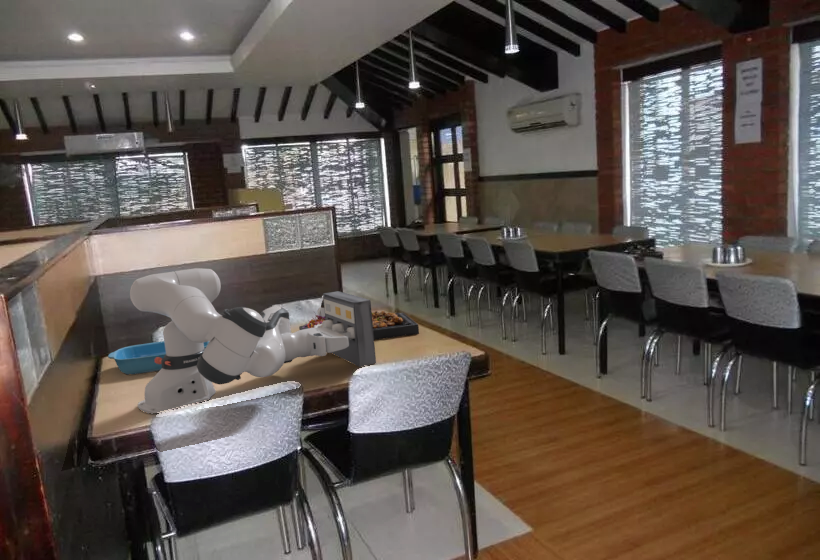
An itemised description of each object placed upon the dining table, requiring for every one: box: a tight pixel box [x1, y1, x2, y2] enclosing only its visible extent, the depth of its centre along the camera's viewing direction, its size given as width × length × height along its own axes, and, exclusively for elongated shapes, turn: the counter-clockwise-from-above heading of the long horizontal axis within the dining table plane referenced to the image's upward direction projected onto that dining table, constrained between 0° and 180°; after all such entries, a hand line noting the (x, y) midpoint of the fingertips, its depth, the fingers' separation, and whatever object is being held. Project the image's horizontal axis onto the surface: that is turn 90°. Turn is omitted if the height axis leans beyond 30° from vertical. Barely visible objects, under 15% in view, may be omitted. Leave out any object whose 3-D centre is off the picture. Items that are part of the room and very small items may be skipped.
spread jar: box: [316, 295, 325, 320], centre depth 285 cm, size 12×11×12 cm
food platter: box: [298, 310, 420, 341], centre depth 254 cm, size 45×25×10 cm, turn 104°
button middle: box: [332, 323, 344, 331], centre depth 218 cm, size 4×4×4 cm
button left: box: [322, 319, 334, 330], centre depth 225 cm, size 4×4×4 cm
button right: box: [347, 327, 355, 339], centre depth 211 cm, size 4×4×4 cm
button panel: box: [322, 290, 377, 368], centre depth 219 cm, size 6×26×22 cm, turn 31°
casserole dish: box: [107, 340, 209, 375], centre depth 231 cm, size 37×22×7 cm, turn 111°
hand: (349, 333), depth 210 cm, fingers closed, pressing on button right
